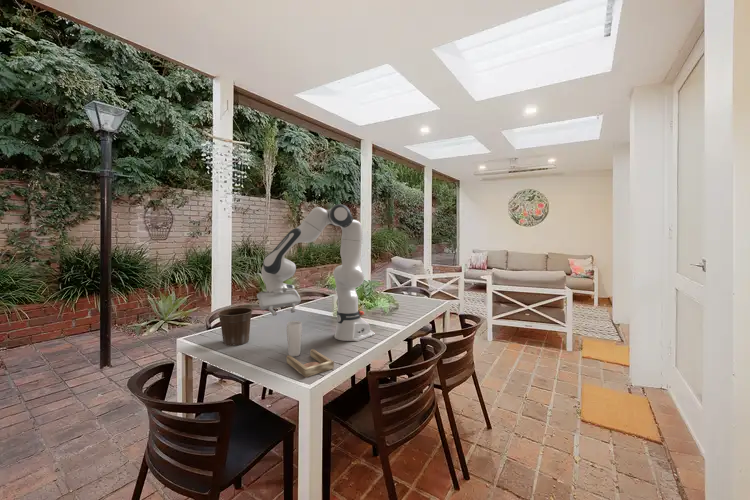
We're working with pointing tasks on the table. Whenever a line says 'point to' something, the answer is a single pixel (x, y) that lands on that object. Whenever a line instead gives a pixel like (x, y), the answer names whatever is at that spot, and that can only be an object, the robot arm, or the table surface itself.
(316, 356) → the guide channel
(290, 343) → the white cup
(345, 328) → the robot arm
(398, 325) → the table surface
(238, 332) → the plant pot
